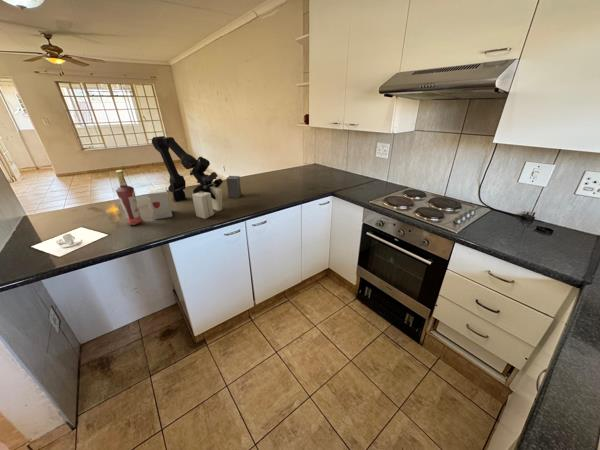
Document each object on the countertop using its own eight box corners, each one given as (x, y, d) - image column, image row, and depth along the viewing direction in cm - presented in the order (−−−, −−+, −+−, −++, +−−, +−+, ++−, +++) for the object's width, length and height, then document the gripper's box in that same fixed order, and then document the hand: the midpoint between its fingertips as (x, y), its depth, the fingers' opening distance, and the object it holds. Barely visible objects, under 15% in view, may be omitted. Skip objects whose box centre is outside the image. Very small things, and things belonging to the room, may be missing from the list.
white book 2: (210, 216, 138) (206, 194, 132) (200, 213, 141) (197, 192, 135) (213, 214, 141) (210, 193, 135) (205, 212, 143) (201, 190, 137)
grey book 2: (240, 195, 168) (238, 177, 162) (230, 195, 169) (227, 177, 163) (241, 194, 171) (239, 176, 165) (231, 194, 171) (229, 175, 165)
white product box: (154, 220, 133) (147, 193, 126) (154, 213, 140) (147, 188, 133) (172, 216, 137) (166, 191, 130) (172, 211, 144) (166, 186, 137)
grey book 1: (238, 197, 165) (236, 178, 159) (228, 197, 165) (226, 178, 159) (239, 196, 168) (238, 177, 162) (229, 195, 168) (227, 177, 162)
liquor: (141, 225, 127) (125, 172, 114) (125, 227, 125) (106, 173, 112) (145, 219, 133) (130, 168, 120) (130, 221, 131) (112, 169, 118)
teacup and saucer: (53, 245, 108) (49, 237, 107) (73, 237, 115) (70, 229, 113) (66, 249, 106) (62, 241, 104) (86, 240, 112) (82, 233, 111)
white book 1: (205, 218, 135) (201, 196, 129) (196, 216, 138) (191, 194, 132) (209, 216, 138) (205, 195, 132) (200, 214, 141) (196, 192, 135)
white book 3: (218, 211, 144) (217, 190, 138) (210, 207, 147) (209, 187, 141) (222, 210, 147) (222, 189, 141) (214, 206, 150) (213, 186, 144)
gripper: (193, 172, 130) (211, 195, 131) (218, 164, 145) (234, 186, 146) (185, 184, 137) (203, 206, 138) (210, 176, 152) (226, 196, 152)
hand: (217, 198), depth 143 cm, fingers closed on white book 3, 3 cm apart
